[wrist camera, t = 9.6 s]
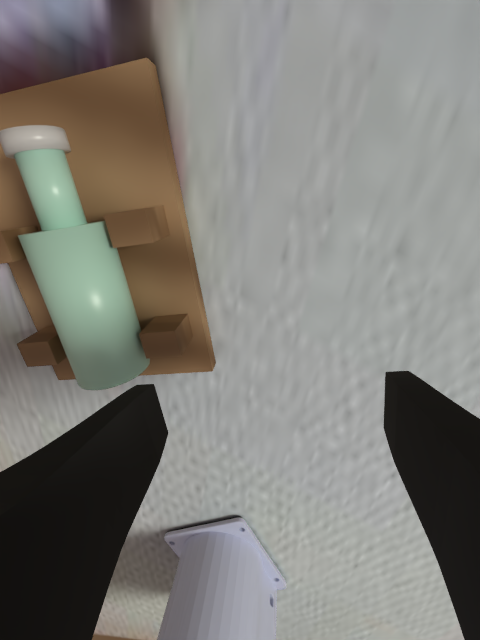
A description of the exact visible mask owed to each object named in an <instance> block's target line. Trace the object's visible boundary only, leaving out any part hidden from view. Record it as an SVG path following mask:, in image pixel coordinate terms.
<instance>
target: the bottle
mask: <svg viewBox="0 0 480 640" xmlns="http://www.w3.org/2000/svg"><path fill="white" fill-rule="evenodd" d="M0 143H1V146H2V148H3V151H4V153H5V156H6V157H8V158H13V159H15V160H16V163H17V166H18V168H19V171H20V174H21V176H22V179H23V181H24V184H25V187H26V189H27V192H28V195H29V197H30V200H31V203H32V205H33V208H34V211H35V213H36V216H37V219H38V221H39V224H40V227H41V229H42V231H39V232H33V233H28V234H23V235H18V238H19V240H20V243H21V245H22V248H23V250H24V253H25V255H26V257H27V260H28V262H29V265H30V267H31V270H32V272H33V275H34V277H35V280H36V282H37V284H38V287H39V289H40V292H41V294H42V297H43V299H44V302H45V304H46V306H47V309H48V311H49V314H50V316H51V319H52V321H53V324H54V326H55V328H56V331H57V333H58V336H59V338H60V341H61V343H62V346H63V348H64V351H65V353H66V355H67V358H68V360H69V363H70V365H71V368H72V370H73V373H74V375H75V377H76V380H77V382H78V385H79V386H80V387H81V388H83V389H86V390H103V389H108V388H112V387H115V386H118V385H121V384H123V383H126V382H128V381H130V380H132V379H134V378H135V377H137V376H138V375H140V374H141V373H142V372H143V371H144V370H145V369H146V368H147V367H148V365H149V363H150V358H149V359H146V356H145V353H144V350H143V346H142V343H141V340H140V336H139V333H140V332H141V328H140V324H139V321H138V318H137V314H136V311H135V308H134V304H133V301H132V297H131V294H130V291H129V287H128V284H127V280H126V277H125V274H124V270H123V267H122V264H121V260H120V257H119V253H118V250H117V248H113V245H112V242H111V239H110V235H109V232H108V229H107V225H106V222H105V221H98V222H91V223H87V221H86V217H85V214H84V211H83V208H82V205H81V202H80V199H79V196H78V193H77V189H76V186H75V183H74V180H73V177H72V174H71V171H70V168H69V165H68V162H67V158H66V155H65V154H68V153H70V152H71V148H70V145H69V142H68V138H67V135H66V132H65V130H64V129H63V128H60V127H56V126H48V125H28V126H18V127H11V128H7V129H4V130H1V131H0Z"/></svg>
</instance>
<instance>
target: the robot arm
mask: <svg viewBox="0 0 480 640" xmlns="http://www.w3.org/2000/svg"><path fill="white" fill-rule="evenodd" d="M384 430H385V434H386V437H387V440H388V444H389V447H390V450H391V453H392V457H393V460H394V462H395V465H396V467H397V469H398V472H399V474H400V476H401V479H402V481H403V483H404V485H405V488H406V490H407V492H408V494H409V497H410V499H411V501H412V503H413V506H414V508H415V510H416V512H417V515H418V517H419V519H420V521H421V523H422V526H423V528H424V530H425V532H426V535H427V537H428V539H429V541H430V544H431V546H432V549H433V551H434V554H435V556H436V558H437V561H438V563H439V566H440V569H441V572H442V575H443V577H444V580H445V583H446V586H447V589H448V592H449V595H450V598H451V601H452V603H453V606H454V609H455V612H456V615H457V618H458V621H459V624H460V627H461V630H462V633H463V636H464V639H465V640H480V419H479V418H477V417H476V416H474V415H473V414H471V413H470V412H468V411H467V410H465V409H464V408H462V407H461V406H459V405H458V404H456V403H455V402H453V401H452V400H450V399H449V398H447V397H446V396H444V395H443V394H441V393H440V392H439V391H437V390H436V389H434V388H433V387H431V386H430V385H429V384H427V383H426V382H424V381H423V380H421V379H420V378H418V377H417V376H415V375H414V374H412V373H411V372H409V371H397V372H386V377H385V407H384ZM167 436H168V430H167V427H166V423H165V420H164V417H163V413H162V410H161V407H160V403H159V400H158V397H157V393H156V390H155V386H154V384H146V385H136V386H134V387H132V388H131V389H129V390H128V391H126V392H124V393H123V394H121V395H120V396H118V397H117V398H116V399H114V400H113V401H111V402H110V403H108V404H107V405H106V406H104V407H103V408H101V409H100V410H98V411H97V412H95V413H94V414H93V415H91V416H90V417H88V418H87V419H85V420H84V421H83V422H81V423H80V424H78V425H77V426H75V427H74V428H72V429H71V430H69V431H68V432H66V433H65V434H63V435H61V436H60V437H58V438H57V439H55V440H54V441H52V442H51V443H49V444H48V445H46V446H45V447H43V448H41V449H40V450H38V451H37V452H35V453H33V454H32V455H30V456H28V457H26V458H25V459H23V460H21V461H20V462H18V463H16V464H14V465H12V466H11V467H9V468H7V469H5V470H4V471H2V472H0V640H92V637H93V634H94V630H95V627H96V624H97V621H98V618H99V615H100V612H101V608H102V605H103V602H104V599H105V596H106V593H107V590H108V587H109V584H110V581H111V578H112V575H113V572H114V569H115V566H116V564H117V561H118V558H119V555H120V552H121V549H122V547H123V544H124V542H125V539H126V537H127V534H128V532H129V530H130V528H131V525H132V523H133V521H134V519H135V517H136V514H137V512H138V510H139V508H140V505H141V503H142V501H143V499H144V497H145V494H146V492H147V490H148V488H149V485H150V483H151V481H152V479H153V476H154V474H155V472H156V469H157V467H158V465H159V462H160V459H161V456H162V453H163V450H164V446H165V443H166V439H167ZM164 539H165V541H166V542H167V544H168V545H169V546H170V547H171V548H172V550H173V551H174V552H175V553H176V555H177V556H178V557H179V558H180V560H179V563H178V567H177V570H176V574H175V578H174V581H173V585H172V588H171V592H170V595H169V599H168V602H167V606H166V610H165V613H164V617H163V620H162V624H161V627H160V631H159V635H158V638H157V640H276V613H277V590H282V589H285V588H286V581H285V579H284V578H283V576H282V575H281V573H280V572H279V570H278V569H277V567H276V566H275V564H274V563H273V561H272V560H271V558H270V557H269V555H268V554H267V552H266V551H265V549H264V548H263V546H262V545H261V543H260V542H259V540H258V539H257V537H256V536H255V534H254V533H253V531H252V530H251V529H250V527H249V526H248V524H247V523H246V521H245V520H244V519H243V518H240V517H239V518H233V519H228V520H223V521H219V522H214V523H209V524H204V525H199V526H195V527H190V528H185V529H180V530H175V531H171V532H167V533H166V534H165V536H164Z"/></svg>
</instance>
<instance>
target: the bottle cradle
mask: <svg viewBox="0 0 480 640" xmlns="http://www.w3.org/2000/svg"><path fill="white" fill-rule="evenodd" d="M28 125H48V126H56V127H60V128H63V129H64V130H65V132H66V135H67V138H68V142H69V145H70V148H71V152H70V153H68V154H65V155H66V158H67V162H68V165H69V168H70V171H71V174H72V177H73V180H74V183H75V186H76V189H77V193H78V196H79V199H80V202H81V205H82V208H83V211H84V214H85V217H86V221H87V223H91V222H98V221H105V222H106V225H107V229H108V232H109V235H110V239H111V242H112V245H113V248H117V250H118V253H119V257H120V260H121V264H122V267H123V270H124V274H125V277H126V280H127V284H128V287H129V291H130V294H131V297H132V301H133V304H134V308H135V311H136V314H137V318H138V321H139V324H140V328H141V332H140V333H139V336H140V340H141V343H142V346H143V350H144V353H145V356H146V359H149V358H150V363H149V365H148V367H147V368H146V369H145V370H144V371H143V372H142V373H141V374H140V375H156V374H173V373H191V372H208V371H213V369H214V366H215V364H216V362H215V357H214V352H213V347H212V342H211V337H210V332H209V327H208V322H207V317H206V312H205V307H204V303H203V298H202V293H201V288H200V283H199V278H198V273H197V268H196V263H195V258H194V253H193V248H192V243H191V239H190V234H189V229H188V224H187V219H186V214H185V209H184V204H183V199H182V194H181V189H180V184H179V179H178V174H177V170H176V165H175V160H174V155H173V150H172V145H171V140H170V135H169V130H168V125H167V120H166V115H165V110H164V105H163V101H162V96H161V91H160V86H159V81H158V76H157V71H156V66H155V65H154V64H153V63H152V62H151V61H150V60H149V59H148V58H144V59H140V60H136V61H132V62H128V63H124V64H120V65H116V66H112V67H108V68H104V69H100V70H96V71H92V72H88V73H84V74H80V75H76V76H72V77H68V78H64V79H60V80H56V81H52V82H48V83H44V84H40V85H36V86H32V87H28V88H24V89H20V90H16V91H12V92H8V93H4V94H0V131H1V130H4V129H7V128H11V127H18V126H28ZM39 231H42V229H41V227H40V224H39V221H38V219H37V216H36V213H35V211H34V208H33V205H32V203H31V200H30V197H29V195H28V192H27V189H26V187H25V184H24V181H23V179H22V176H21V174H20V171H19V168H18V166H17V163H16V160H15V159H13V158H8V157H6V156H5V153H4V151H3V148H2V146H1V143H0V264H1V263H8V264H9V266H10V269H11V271H12V273H13V276H14V278H15V280H16V283H17V285H18V287H19V290H20V292H21V294H22V297H23V299H24V301H25V303H26V306H27V308H28V310H29V313H30V315H31V317H32V320H33V322H34V324H35V327H36V329H37V331H38V332H36V333H34V334H33V335H31V336H29V337H28V338H26V339H24V340H23V341H21V342H19V343H18V344H17V346H18V348H19V350H20V352H21V354H22V356H23V359H24V361H25V363H26V365H27V367H31V366H46V365H52V366H53V368H54V371H55V373H56V375H57V378H58V380H69V379H76V377H75V375H74V373H73V370H72V368H71V365H70V363H69V360H68V358H67V355H66V353H65V351H64V348H63V346H62V343H61V341H60V338H59V336H58V333H57V331H56V328H55V326H54V324H53V321H52V319H51V316H50V314H49V311H48V309H47V306H46V304H45V302H44V299H43V297H42V294H41V292H40V289H39V287H38V284H37V282H36V280H35V277H34V275H33V272H32V270H31V267H30V265H29V262H28V260H27V257H26V255H25V253H24V250H23V248H22V245H21V243H20V240H19V238H18V235H23V234H28V233H33V232H39ZM138 376H139V375H138Z"/></svg>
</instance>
